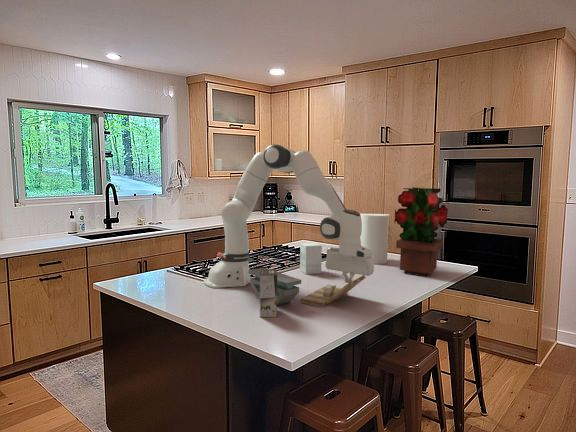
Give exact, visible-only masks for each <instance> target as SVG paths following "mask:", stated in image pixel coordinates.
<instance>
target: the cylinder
mask: <svg viewBox="0 0 576 432" xmlns="http://www.w3.org/2000/svg"><path fill="white" fill-rule="evenodd" d="M359 214H360V215H361V220H362V233H361V236H360V240H361V246H363V247H365V248H367V249H369V250H371V251H372V255H371V257H372V258H373V263H374V265H382V264H383V265H384V264H386V263H387V262H388V249H389V247H388V245H389V231H390V228H389V226H390V214H389V213H387V214H386V213H384V214H383V213H359Z"/></svg>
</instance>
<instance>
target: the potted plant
mask: <svg viewBox="0 0 576 432" xmlns="http://www.w3.org/2000/svg"><path fill="white" fill-rule="evenodd" d="M402 189H403V191H402V192H401V194H399V195H398V197H397V201H398V203H399V204H400V205H401V208H398V209H397V210H396V209H394V220H393V221H394V225H395V224H396V223H397V224H398V225H399V226H400V228H401V229H402V232H400V234H399V235H398V236H399V239H397V240H396V244H395V248H396V249H400V255H399V256H400V257H399V260H400V261H399V270H402V271H404V272H403V273H404V274H407V273H410V274H409V275H414V274H418V275H417V276H421V275H425V276H424V277H427V275H428V274H429V275H431V273H433V272H434V271H435V270H436V269H437V261H438V250H440V249H441V248H442V247H443V243H444V242H443V240H444V239H441V238H437V237H438V233H437V232H436V231H437V230H438V229H439V227H440V228H443V227H445V225H446V224H447V223H448V208H447V206H446V205H445V204H442V203H443V202H444V199H443V197H438V196H437V194H438V193H440V192H441V188H425V187H424V188H422V187H413V186H412V188H411V187H409V188H408V187H407V188H406V187H403V188H402ZM440 205H441V206H440ZM402 207H403V208H402ZM429 275H428V276H429Z"/></svg>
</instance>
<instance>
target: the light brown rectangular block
mask: <svg viewBox="0 0 576 432" xmlns="http://www.w3.org/2000/svg"><path fill="white" fill-rule="evenodd" d="M342 288H343V287H342ZM342 288H341V287H337V284H334V283H329V284H326V285H324V286H322V287H321V288H319V289H317V290H315V291H313V292H310V293H309V294H307V295H305V296H304V297H301V298H300V299H299V300H300V301H299V302H300V303H301V304H305V305H310V306H314V307H315V306H316V307H320V308H323V307H324V306H326V305H329V304H328V303H326V301H327V300H328V299H329V298H331V297H332V296H333V295H334V294H336V293H337V292H338V291H339V290H341V289H342Z"/></svg>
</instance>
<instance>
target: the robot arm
mask: <svg viewBox="0 0 576 432" xmlns="http://www.w3.org/2000/svg"><path fill="white" fill-rule="evenodd" d="M274 171H276V172H279V173H284V174H292V173H293V174H294V175H295V179H296V180H297V182H298V185H299V187H300V188H301V190H303V192H304V193H306V194H307V195H310V196H313V197H315V198H319V199H321V200H322V201H323V202H324V203H326V206H327V207H328V209H329V210H330V211H331V214H332V215H331V216H327V217H325V218H323V219H322V220H321V221H320V225H319V232H320V234H321V236H322V237H323V238H324V239H326V240H335V239H337V240H338V243H339V244H338V247H329V248H327V249H326V260H325V268H326V270H330V271H336V272H342V276H343V278H344V283H346V284H348V283H350V282H352V281H353V278H354V277H355V275H360V276H363V275H364V276H365V277H370V276H371V275H373V274H374V272H375V271H374V270H375V269H374V268H375V264H374V263H373V258H372V257H371V255H372V251H371V250H369V249H367V248H365V247H363V246H361V240H360V236H361V233H362V220H361V215H360V214H361V213H360V212H358V211H356V210H354V209H347V208H346V207H345V204H344V203H343V201H342V199H340V197H339V195H338V193H337V192H336V190H335V188H334V187H333V186H332V185H331V184H330V182H329V181H328V180H327V179H326V177H325V176H324V174H323V172H322V169H321V168H320V166H319V164H318V162H317V161H316V159H315V157H314V155H312V154H311V152H310V151H308V150H306V149H305V150H299V151H294V150H292V149H291V148H289V147H286V146H284V145H283V146H282V145H280V144H271V145H267V147H266V148H265V149H264V151H259V152H256V153H255V154H254V156H253V157H252V158H251V160H250V161H249V163H248V164H247V166H246V168H245V170H244V171H243V174H242V176H241V178H240V180H239V182H238V183H237V186H236V190H235V192H234V195H233V198H232V199H231V201H228V202H227V203H225V204H224V205H223V207H222V209H221V218H222V223H223V229H224V230H223V231H224V247H225V248H224V252H218V253H217V256H218V257H219V258H220V259H221V260H220V261H218V262H217V263H216V264H214V265H213V266H212V267H211V268H210V269H209V272H208V277H207V278H204V279H203V284H204V285H205V286H207V287H209V288H213V289H216V288H217V289H218V288H233V287H235V288H237V287H245V286H247V284H250V278H252V277H251V274H249V270H250V265H249V263H250V251H249V243H250V242H249V241H250V239H249V236H250V235H249V232H248V226H247V220H248V219H249V218H250V217H251V214H252V213H253V210H254V209H255V207H256V203H257V202H258V198H259V196H260V194H261V192H262V191H263V188H264V187H265V185H266V184H267V182H268V179H269V178H270V176H271V173H273V172H274ZM348 274H349V276H350V277H349V276H348Z"/></svg>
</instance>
